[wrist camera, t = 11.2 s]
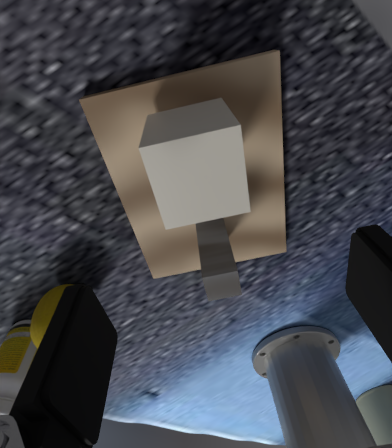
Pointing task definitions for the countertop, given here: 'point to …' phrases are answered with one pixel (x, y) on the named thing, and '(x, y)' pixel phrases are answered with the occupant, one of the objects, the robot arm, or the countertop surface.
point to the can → (378, 412)
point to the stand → (254, 162)
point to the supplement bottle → (15, 363)
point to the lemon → (45, 313)
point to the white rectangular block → (195, 163)
